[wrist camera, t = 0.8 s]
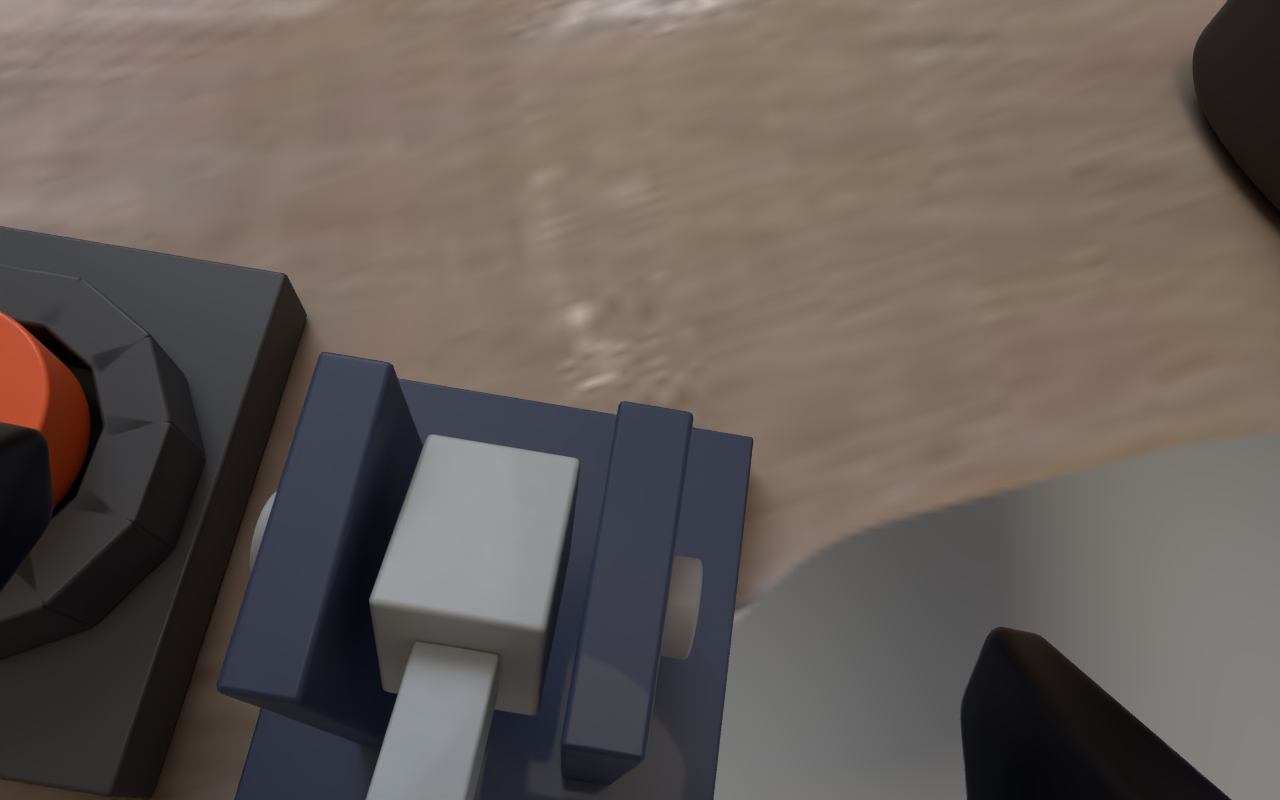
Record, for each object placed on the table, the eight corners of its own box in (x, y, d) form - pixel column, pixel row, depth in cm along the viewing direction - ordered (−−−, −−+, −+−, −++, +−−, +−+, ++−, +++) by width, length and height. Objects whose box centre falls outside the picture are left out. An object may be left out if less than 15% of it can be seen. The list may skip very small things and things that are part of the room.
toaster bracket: (684, 986, 19) (794, 1138, 10) (220, 912, 19) (-92, 995, 10) (745, 454, 23) (859, 226, 14) (368, 392, 23) (244, 122, 14)
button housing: (152, 799, 20) (58, 794, 16) (-249, 733, 20) (-437, 713, 16) (308, 314, 24) (262, 223, 20) (-20, 259, 24) (-126, 158, 20)
